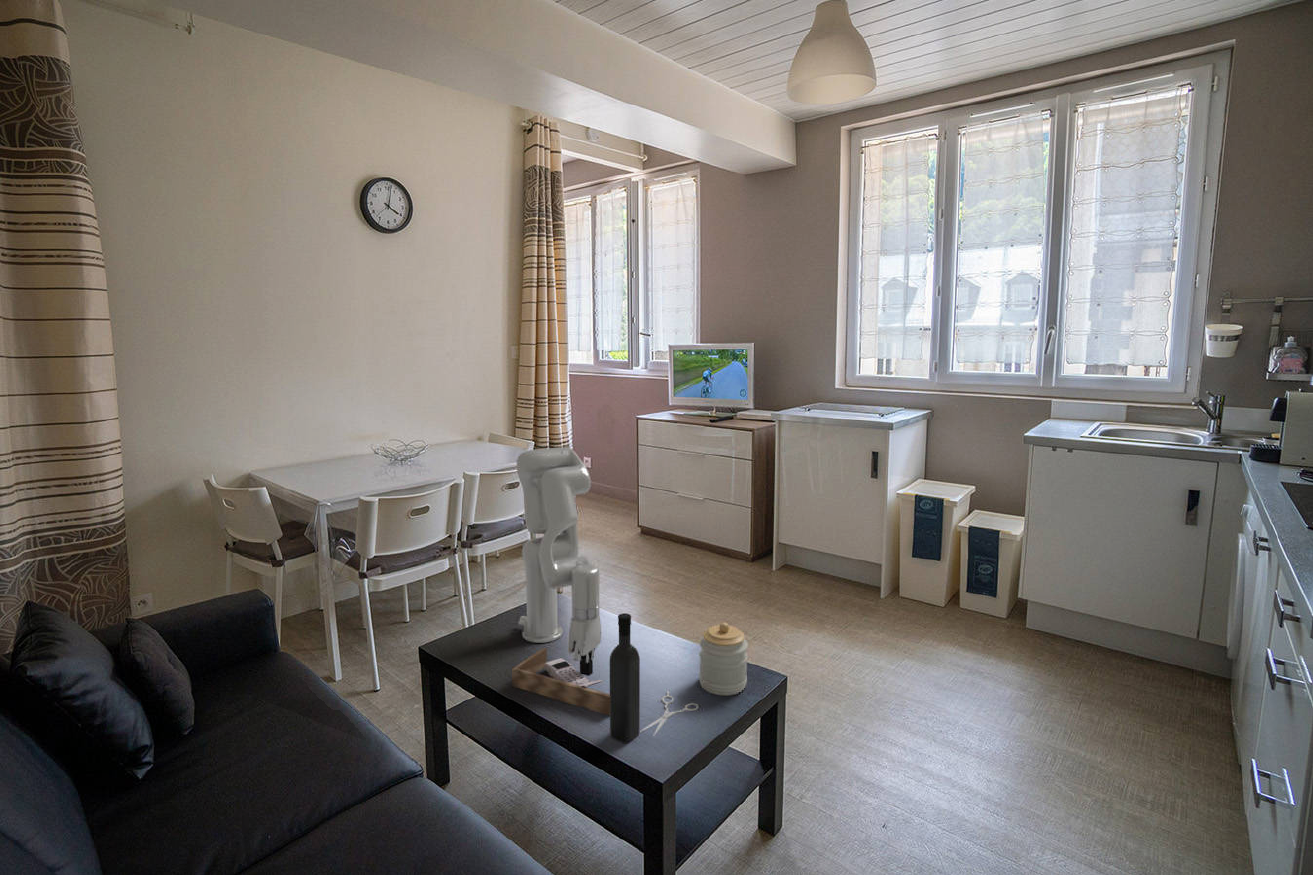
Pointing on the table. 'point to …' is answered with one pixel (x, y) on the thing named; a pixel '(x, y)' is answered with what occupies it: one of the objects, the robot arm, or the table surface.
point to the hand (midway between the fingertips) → (586, 673)
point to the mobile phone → (567, 673)
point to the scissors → (668, 713)
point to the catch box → (557, 685)
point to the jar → (723, 660)
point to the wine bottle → (624, 685)
